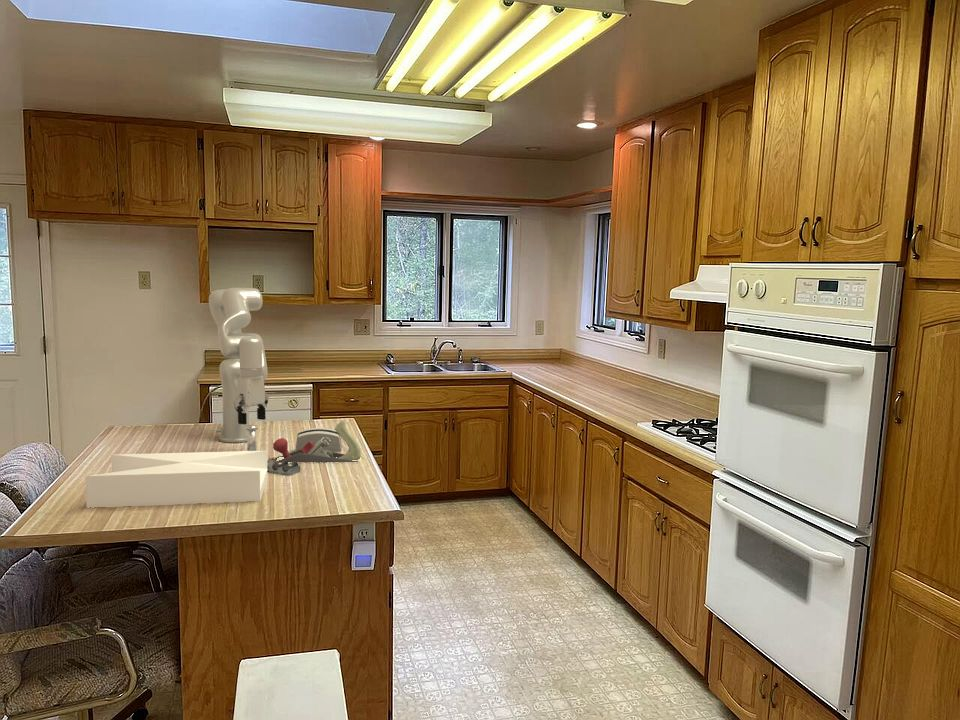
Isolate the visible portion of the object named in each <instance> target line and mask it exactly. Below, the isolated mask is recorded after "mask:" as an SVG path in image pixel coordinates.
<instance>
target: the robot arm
mask: <svg viewBox="0 0 960 720" xmlns="http://www.w3.org/2000/svg"><path fill="white" fill-rule="evenodd" d="M208 306H209V307H208V308H209V311H210V314H211V317H212V318H213V320H214V322H215V324H216V327H217V339H218V344H219V345H218V346H219V350H220V353H221V354H222V355H223V357H225V358H226V359H224V360H222V362H221V363H220V364H219V369H218V371H219V376H220V382H221V391H222V392H221V394H222V426H221V425H220V426H218V427H217V429H216V430H215V431H216V433H220V435H219V436H218V441H220V442H223V443H231V444H232V443H235V444H236V443H245V442H247V430H246V426H247V425H250V407H253V406H257V408H256V418H257V420H261V421H265V420H266V409H267V405H268V403H269V398H270V394H268V393H266V388H265V387H266V386H265V380H266V379H267V378H268V374H269V373H268V364H267V358H266V351H265V345H264V341H263V338H262V337H261V335H260V334H257V333H254V332H253V333H252V332H251V333H250V332H249V333H248V332H247V333H246V332H245V333H243V332H242V329H244V328H245V327H247V326H248V325H249V324H250V323H251V321H252V315H251V313H250V312H252V311H253V312H254V311H259V310H261V308H262V306H263V294H262V293H261V292H260V290H259V289H258V288H255V287H230V288H225V289H223V288H222V289H216V290H213V291H211V293H210V294H209V296H208Z"/></svg>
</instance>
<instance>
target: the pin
mask: <svg viewBox="0 0 960 720" xmlns="http://www.w3.org/2000/svg"><path fill="white" fill-rule="evenodd" d="M246 430H247V441H246V442H247V443H246V445H247V451H258V450H257V430H258V425H257V424H249V425H247V426H246Z"/></svg>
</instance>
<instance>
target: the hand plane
mask: <svg viewBox="0 0 960 720" xmlns="http://www.w3.org/2000/svg"><path fill="white" fill-rule="evenodd" d="M334 430H336V432H337V433H338V434H339V435H340V438H341V439H343V441H344V442H345V443H346V445H347V447H348V450H347V452H346V453H340V452H333V450H330V451H329V450H328V449H323V448H324V446H325V447H326V446H328V445H329V443H330V442H331V440H330V439H329V438H328V437H325V438H324V437H323V438H322V439H321V440H320V441H318V442H317V443H316V444H314V445H313V444H312V443H311V442H308V443H307V444H306V445H305V446H304V447H303V448H302V449H300V450H297V451H292V452H289V450H288V449H289V447H288V443H289V442H288V440H287V439H286V438H284V437H282V438H278V439H276V440H275V441H274V442H273V443H272V446H273V447H272V449H274V451H276V452H278V453H280V454H282V455H279V456H277V457H275V459H274V461H276V460H277V458H279V457H284V459H282V460H279V461H278V462H281V461H283V460H287V461H288V462H295V461H296V462H313V463H312V464H315V463H314V462H316V464H319V463H320V462H321V463H322V462H323V464H325V463H327V462H333V463H334V462H358V461H352V460H358V459H360V457H362V456H361V448H360V444H359V443H358V441H357V440H356V438H355V437H354V436H353V434H351V432H350V431H349V429H348V428H347V425H346V420H345V418H344V419H342V420H341V421H340V422H338V423H337V424H336V425H335V428H334ZM323 440H324V441H323ZM336 457H337V458H336ZM321 463H320V464H321ZM333 463H332V464H333ZM327 464H328V463H327ZM334 464H335V463H334Z"/></svg>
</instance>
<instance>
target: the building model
mask: <svg viewBox="0 0 960 720" xmlns="http://www.w3.org/2000/svg"><path fill="white" fill-rule="evenodd" d="M267 460H268V450H257V451H248V450H245V451H244V450H242V451H240V450H237V451H204V452H203V451H202V452H201V451H200V452H199V451H197V452H194V451H193V452H162V453H159V452H157V453H155V452H154V453H121V454H120V453H118V454H115V453H114V454H111V472H107V473H99V474H91V475H85V476H84V477H85V480H84V481H85V499H86V500H85V502H86V504H85V505H86V508H87V507H88V508H87V509H95V508H94V507H107V508H121V507H122V508H124V507H123V506H132V507H151V506H153V507H154V505H156V506H175V504H176V506H177V504H178V505H179V504H181V505H198V504H197V503H206V504H225V503H224V502H230V503H248V502H247V501H255V502H261V500H262V498H263V493H264V491H265V487H266V485H265V484H267V482H266V481H268V479H267V478H269V477H268V473H269V472H267ZM90 507H91V508H90Z"/></svg>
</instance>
